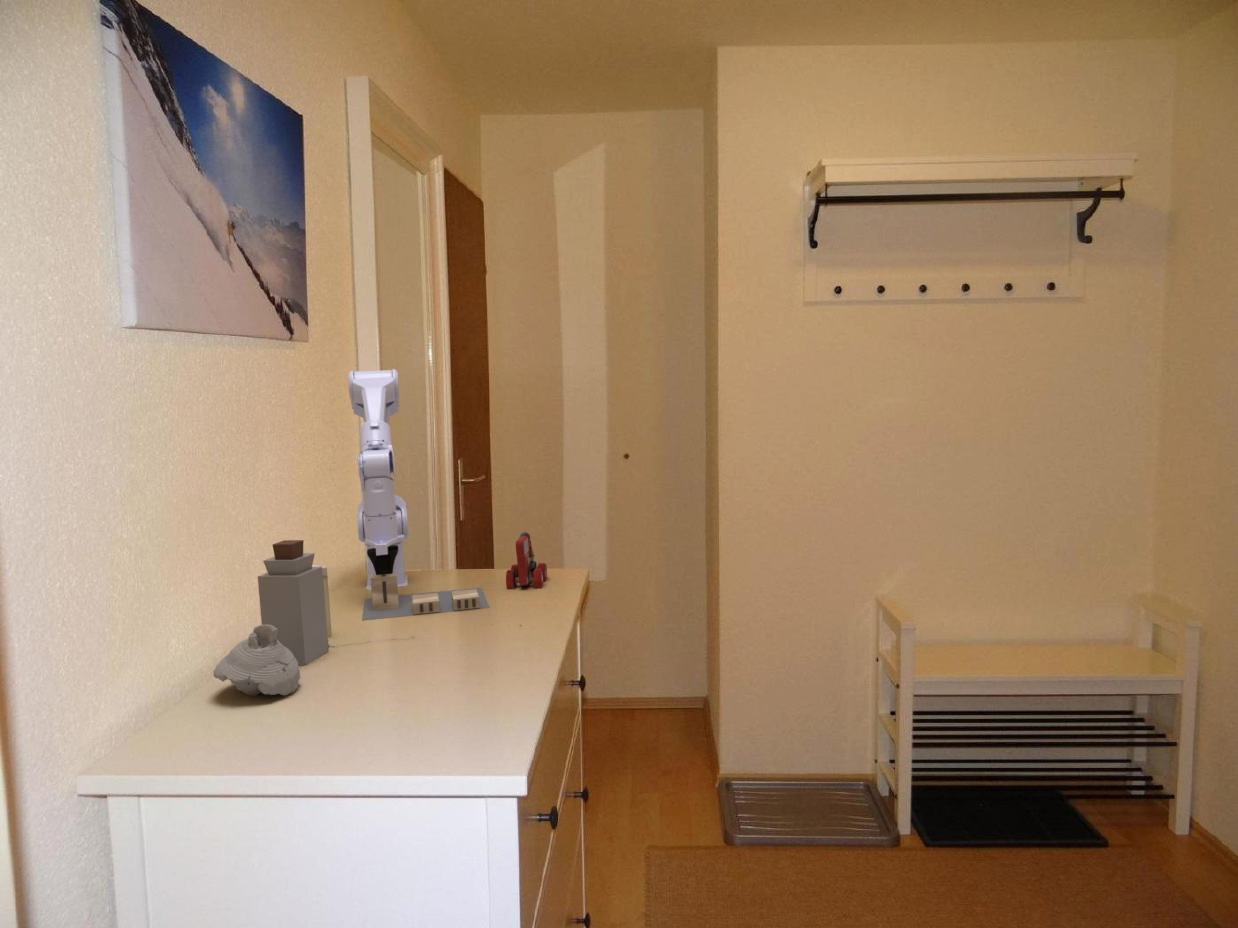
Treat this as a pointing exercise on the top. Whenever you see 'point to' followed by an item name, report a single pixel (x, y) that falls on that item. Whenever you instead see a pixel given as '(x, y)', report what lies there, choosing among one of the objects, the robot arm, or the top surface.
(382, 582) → the tile one
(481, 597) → the mat
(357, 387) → the robot arm
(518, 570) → the red wheeled toy
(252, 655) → the grey clay mound
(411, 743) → the top surface
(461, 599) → the tile three
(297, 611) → the perfume bottle
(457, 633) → the top surface
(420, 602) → the tile two
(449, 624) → the top surface
